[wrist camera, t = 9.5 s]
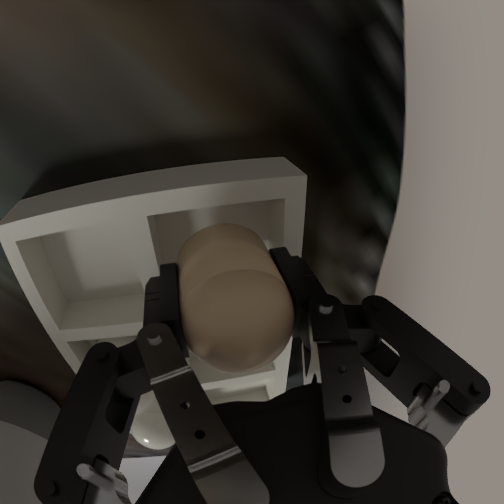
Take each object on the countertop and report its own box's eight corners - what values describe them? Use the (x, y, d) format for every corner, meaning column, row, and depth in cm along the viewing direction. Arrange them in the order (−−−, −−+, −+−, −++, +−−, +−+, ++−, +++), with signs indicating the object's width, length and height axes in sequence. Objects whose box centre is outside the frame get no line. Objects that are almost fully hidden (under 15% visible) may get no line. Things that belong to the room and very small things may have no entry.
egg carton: (126, 406, 24) (127, 433, 22) (20, 200, 12) (-6, 227, 10) (272, 385, 27) (281, 411, 25) (283, 156, 15) (307, 175, 12)
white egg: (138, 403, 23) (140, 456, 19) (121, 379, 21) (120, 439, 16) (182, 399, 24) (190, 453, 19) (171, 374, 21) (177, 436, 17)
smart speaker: (28, 416, 23) (22, 514, 12) (-21, 372, 18) (-42, 484, 7) (83, 414, 24) (85, 529, 13) (31, 367, 19) (13, 508, 8)
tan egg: (184, 306, 15) (195, 402, 10) (168, 231, 12) (169, 328, 8) (267, 292, 15) (304, 379, 11) (268, 217, 13) (320, 301, 8)
